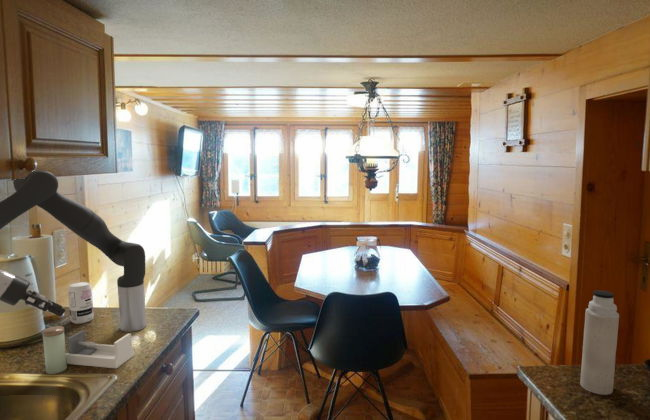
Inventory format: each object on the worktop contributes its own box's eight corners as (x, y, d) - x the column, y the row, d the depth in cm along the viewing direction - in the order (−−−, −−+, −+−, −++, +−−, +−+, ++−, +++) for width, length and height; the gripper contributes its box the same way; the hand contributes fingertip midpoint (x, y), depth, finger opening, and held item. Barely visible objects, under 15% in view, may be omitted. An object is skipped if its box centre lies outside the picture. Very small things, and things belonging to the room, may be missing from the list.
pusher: (68, 358, 143) (67, 338, 142) (83, 349, 150) (82, 330, 149) (88, 359, 142) (86, 339, 141) (101, 350, 148) (100, 331, 148)
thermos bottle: (599, 379, 131) (607, 287, 127) (619, 394, 123) (628, 296, 119) (574, 380, 130) (580, 288, 127) (592, 395, 122) (600, 297, 119)
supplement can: (76, 317, 183) (73, 281, 181) (97, 316, 184) (94, 281, 182) (66, 324, 175) (63, 287, 173) (89, 323, 176) (86, 287, 174)
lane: (60, 363, 143) (58, 339, 142) (81, 350, 152) (79, 328, 151) (116, 368, 139) (114, 344, 138) (134, 355, 148) (132, 332, 147)
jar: (48, 366, 140) (44, 327, 139) (69, 364, 142) (65, 325, 140) (43, 375, 135) (39, 334, 133) (65, 372, 137) (61, 332, 135)
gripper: (14, 276, 120) (72, 302, 128) (13, 273, 132) (67, 297, 139) (-4, 301, 118) (56, 326, 125) (-4, 296, 129) (52, 319, 137)
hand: (62, 311), depth 132 cm, fingers open, 8 cm apart
